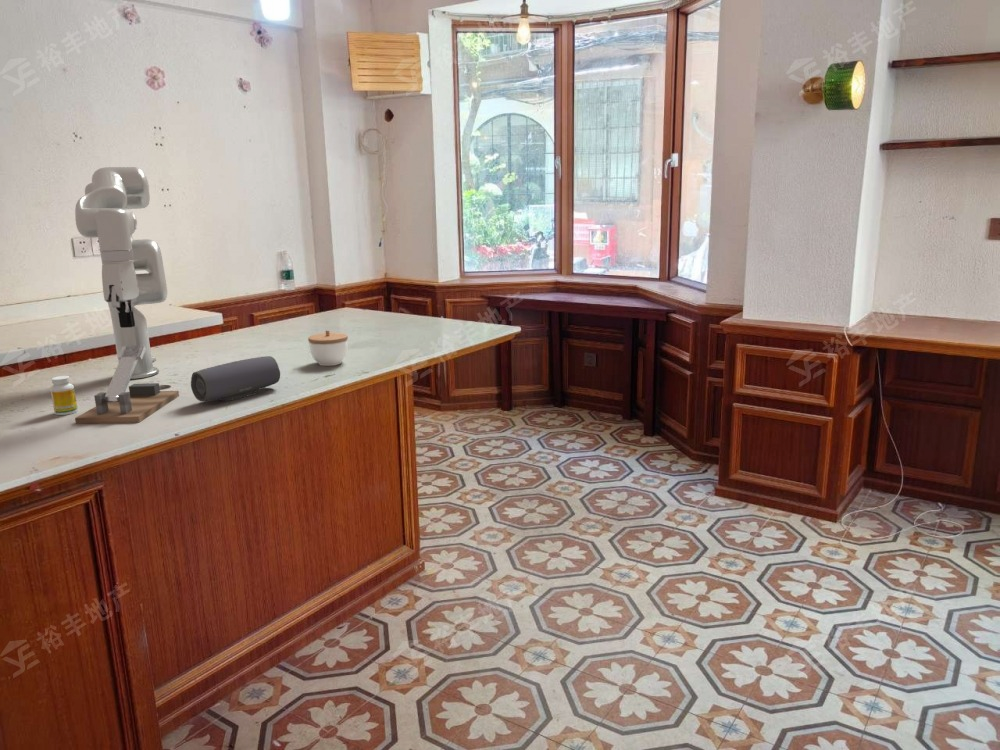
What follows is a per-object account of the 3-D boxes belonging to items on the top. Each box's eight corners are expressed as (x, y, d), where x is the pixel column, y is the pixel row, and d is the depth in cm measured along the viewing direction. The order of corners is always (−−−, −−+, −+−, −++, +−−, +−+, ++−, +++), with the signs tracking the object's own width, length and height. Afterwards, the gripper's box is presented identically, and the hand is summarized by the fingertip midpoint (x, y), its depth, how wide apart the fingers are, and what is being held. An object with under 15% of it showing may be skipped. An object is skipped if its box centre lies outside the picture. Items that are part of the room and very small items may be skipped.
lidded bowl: (340, 368, 236) (337, 334, 233) (303, 367, 238) (300, 334, 236) (355, 359, 248) (353, 327, 245) (320, 358, 250) (317, 326, 248)
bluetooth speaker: (264, 385, 218) (260, 352, 215) (283, 390, 212) (279, 356, 210) (191, 403, 201) (187, 367, 199) (209, 408, 195) (205, 372, 193)
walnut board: (122, 397, 208) (119, 374, 207) (179, 395, 208) (176, 373, 207) (75, 423, 185) (71, 398, 183) (139, 422, 185) (135, 397, 183)
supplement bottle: (51, 413, 194) (45, 377, 192) (74, 408, 198) (68, 373, 196) (58, 417, 191) (52, 381, 188) (81, 412, 195) (75, 377, 192)
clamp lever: (124, 349, 200) (121, 345, 199) (146, 349, 200) (144, 345, 199) (101, 404, 188) (98, 400, 186) (124, 403, 188) (122, 399, 186)
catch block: (135, 393, 206) (133, 383, 206) (160, 392, 206) (158, 383, 206) (130, 396, 203) (128, 386, 203) (155, 395, 203) (154, 386, 203)
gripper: (117, 255, 199) (127, 322, 203) (87, 260, 184) (99, 332, 188) (145, 254, 199) (154, 321, 203) (117, 259, 184) (128, 331, 188)
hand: (127, 326), depth 196 cm, fingers closed
